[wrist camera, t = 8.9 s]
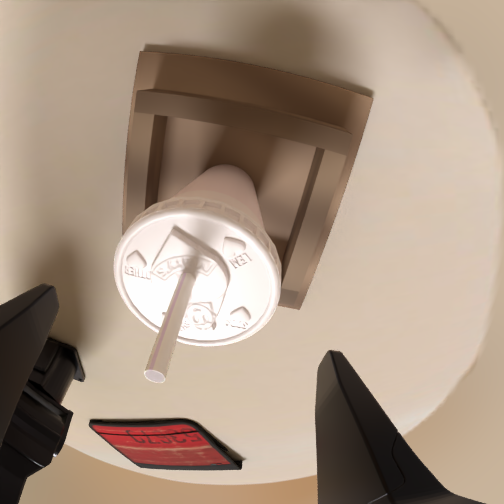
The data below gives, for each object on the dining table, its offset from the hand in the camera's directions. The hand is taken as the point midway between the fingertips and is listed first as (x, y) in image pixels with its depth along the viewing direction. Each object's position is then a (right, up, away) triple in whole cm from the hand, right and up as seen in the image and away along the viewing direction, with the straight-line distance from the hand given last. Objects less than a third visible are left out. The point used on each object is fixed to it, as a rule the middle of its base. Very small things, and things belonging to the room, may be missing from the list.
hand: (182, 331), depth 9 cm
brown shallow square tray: (+1, +6, +11) cm, 13 cm away
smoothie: (0, +6, +10) cm, 12 cm away
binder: (-12, -27, +33) cm, 44 cm away
